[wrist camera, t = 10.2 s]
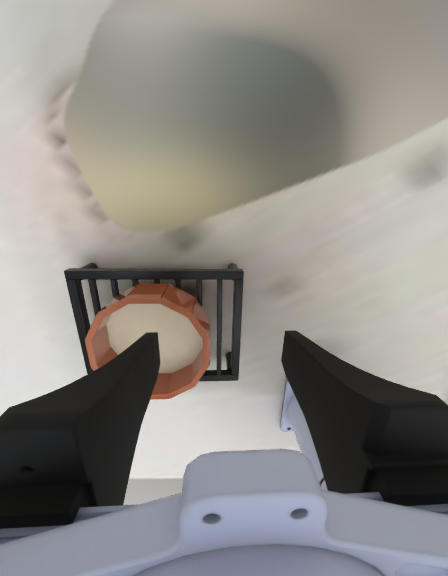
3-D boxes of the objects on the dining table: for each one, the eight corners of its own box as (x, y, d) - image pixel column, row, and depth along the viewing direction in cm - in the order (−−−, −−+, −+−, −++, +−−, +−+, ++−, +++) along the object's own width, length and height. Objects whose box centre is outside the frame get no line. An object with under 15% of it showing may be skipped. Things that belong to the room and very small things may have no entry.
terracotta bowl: (209, 283, 19) (209, 297, 16) (210, 372, 22) (209, 397, 19) (95, 283, 18) (74, 297, 15) (112, 375, 21) (97, 401, 18)
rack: (239, 262, 22) (243, 271, 19) (235, 359, 25) (238, 380, 22) (84, 261, 21) (63, 271, 18) (104, 362, 25) (89, 384, 22)
